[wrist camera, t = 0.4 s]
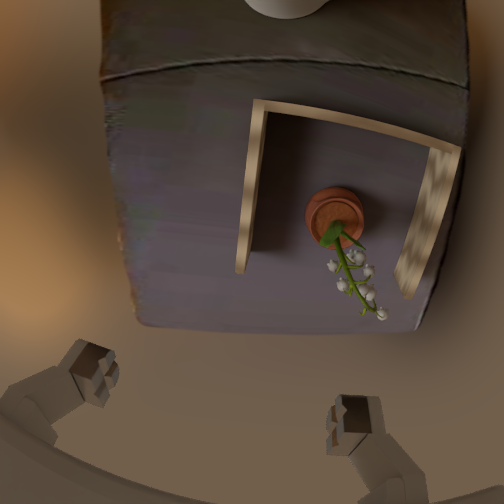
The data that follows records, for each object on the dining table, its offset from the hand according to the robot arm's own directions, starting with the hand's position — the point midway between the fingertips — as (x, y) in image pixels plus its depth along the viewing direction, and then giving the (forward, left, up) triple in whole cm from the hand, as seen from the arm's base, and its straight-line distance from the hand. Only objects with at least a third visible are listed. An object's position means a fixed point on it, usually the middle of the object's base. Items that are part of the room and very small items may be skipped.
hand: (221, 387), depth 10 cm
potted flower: (+9, +11, -44) cm, 46 cm away
